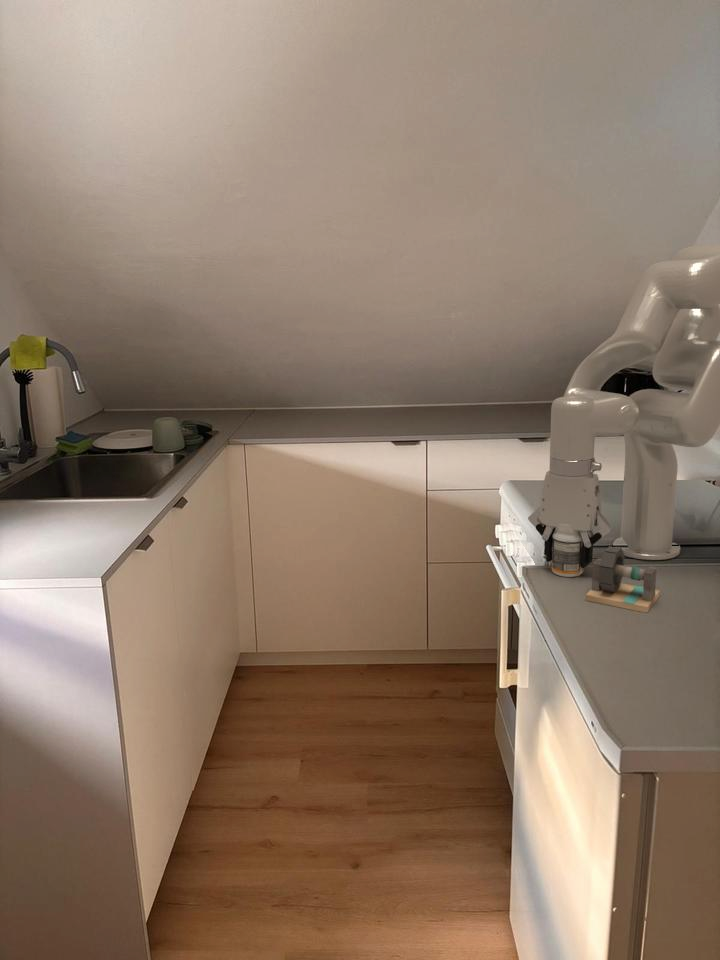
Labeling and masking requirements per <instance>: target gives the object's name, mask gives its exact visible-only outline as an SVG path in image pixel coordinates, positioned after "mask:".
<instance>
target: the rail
mask: <svg viewBox="0 0 720 960" xmlns="http://www.w3.org/2000/svg"><path fill="white" fill-rule="evenodd" d="M601 561H602V557H601V558H600V557H598V558H597V559H596V560H595V561H593V563H592V571H591V572H592V575H591V578H592V579H591V589H590V590H589V591H588V592H587V593H586V594H585V597H584V598H585V600H584V601H586V602H587V601H588V602H592V603H597V604H602V605H606V606H611V607H616V608H620V609H625V610H631V611H636V612H641V613H646V614H648V612H649V611H650V609H651V608H652V607H653V605H654V604H655V603H656V602H657V600H658V599H659V597H660V596H661V595H660V594H661V590H660V589H659V590H658V589H656V588H657V587H656V585H657V569H658V567H654V566H648V567H647V568H646V569H645V568H643V567H641V566H640V567H639V566H634V565H633V566H628V565H624V566H622V565H616V564H615V567H614V575H617V576H622V578H628V579H630V580H634V581H637V582H639V581H643V586H641V585H632V584H627V583H622V582H621V583H620V586H619V588H618V589H617V590H616V591H615V592H610V591H605V590H602V588H601V586H600V584H599V583H600V582H599V576H600V567H601V566H600V564H601Z"/></svg>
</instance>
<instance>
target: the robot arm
mask: <svg viewBox="0 0 720 960" xmlns="http://www.w3.org/2000/svg"><path fill="white" fill-rule="evenodd" d="M719 305H720V243H708V244H707V243H706V244H697V245H692V246H688V247H685V248H682V249H681V250H679V251H678V252H677V253H676V254H675V255H674V257H673V259H672V260H665V261H664V260H663V261H659V262H656V263H653V264H652V265H650V266H648V267H647V268H646V269H645V271H644V272H643V274H642V275H641V277H640V279H639V281H638V283H637V285H636V288H635V290H634V291H633V294H632V296H631V299H630V300H629V303H628V305H627V306H626V309H625V311H624V313H623V315H622V318H621V319H620V322H619V324H618V326H617V328H616V329H615V332H614V333H613V334H612V335H611V336H610V337H609V338H607V339H606V340H605V341H603V342H602V343H601V344H600V345H599V346H597V347H596V348H595V349H594V350H593V351H592V352H591V353H590V354H589V355H588V356H586V357H585V359H583V360H582V362H581V363H580V364H579V365H578V366H577V368H576V369H575V370H574V373H573V374H572V377H571V378H570V381H569V383H568V385H567V387H566V389H565V391H564V394H563V396H560V397H558V398H555V399H554V400H553V401H552V404H551V409H550V438H549V440H550V442H549V470H548V471H546V473H545V475H544V479H543V485H542V491H541V496H540V505H539V507H538V508H537V509H535V510H534V511H533V512H532V513H531V514H530V515H528V518H527V519H528V522H530V523H531V525H532V526H533V527H534V528H535V530H536V531H537V532H538V533H539V535H540V536H541V539H542V540H543V541H544V542H543V543H544V546H543V547H544V548H543V551H544V552H543V555H544V556H545V561H546V562H548V563H550V562H552V537H553V533H554V532H555V531H556V530H557V527H559V525H560V524H567V525H571V527H572V529H573V530H576V531H580V533H581V536H582V539H583V542H584V545H583V546H582V547H581V563H580V567H581V568H584V569H585V568H587V567H588V566H589V564H591V563H592V562H593V555H594V554H593V552H594V544H596V543H597V542H598V541H600V540H601V539H602V538H604V537H605V536H606V535H608V534H610V532H612V531H613V526H612V525H611V524H610V523H609V521H608V520H607V519H606V518H605V516H604V515H603V514H602V499H601V498H602V497H601V488H600V487H601V486H600V480H599V475H598V474H597V473H595V472H597V471H598V472H600V471H601V470H602V467H603V466H602V463H601V462H598V461H596V458H595V438H596V437H619V436H623V437H624V471H623V490H622V507H621V508H622V509H621V528H620V536H621V537H622V538H623V540H624V541H625V542H626V544H627V546H628V548H629V549H625V550H624V549H623V553H624V557H628V558H633V559H638V560H645V561H663V560H669V559H670V560H671V559H674V558H675V557H678V556H679V555H680V553H681V546H680V545H679V546H672V541H673V536H674V535H673V534H674V525H675V524H674V521H675V508H676V495H677V494H676V493H677V481H678V469H679V468H678V458H677V455H676V451H675V448H674V446H673V445H675V446H679V447H680V446H681V447H686V448H700V447H702V446H704V445H706V444H708V443H709V442H710V441H711V440H712V438H713V437H714V436H715V434H716V432H717V431H718V429H719V428H720V340H718V338H719V336H720V306H719ZM653 356H654V357H655V356H656V358H655V361H654V362H653V367H652V377H653V379H654V381H655V382H656V383H657V384H658V385H660V386H661V387H664V388H667V389H671V390H665V389H664V390H663V389H655V388H646V389H640V390H638V391H634V392H633V393H631V394H629V396H628V395H624V394H621V393H615V392H610V391H609V392H608V391H603V390H601V388H603V386H604V384H605V383H606V382H607V381H608V380H609V379H610V378H612V376H613V375H615V374H616V373H618V372H620V371H621V370H624V369H626V368H627V367H630V366H632V365H635V364H638V363H640V362H643V361H644V360H645V361H646V360H647V359H649V358H652V357H653ZM672 389H673V390H678V391H686V392H678V391H673V390H672ZM687 391H688V392H689V393H688V392H687ZM598 526H599V527H600V530H598V531H597V532H596V533H594V529H595V527H598Z"/></svg>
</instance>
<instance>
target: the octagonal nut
mask: <svg viewBox="0 0 720 960" xmlns="http://www.w3.org/2000/svg"><path fill="white" fill-rule="evenodd" d="M601 559H602V561H601V564H600V566H601V567H600V576H599V582H600V583H599V584H600V586H601V588H602V590H605V591H610V592H615V591H616V590H617V589H618V588H619V586H620V583H622V580H623V579H622V578H623V577H622V576H617V575H614V567H615V564H616V565H622V566H625V556H624V553H623V550H622V548H617V547H612V545H611V546H608V547H607V548H606V549H605V550H604V552H603V554H602V557H601Z"/></svg>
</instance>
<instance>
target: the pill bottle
mask: <svg viewBox="0 0 720 960" xmlns="http://www.w3.org/2000/svg"><path fill="white" fill-rule="evenodd" d="M583 545H584V542H583V539H582V536H581V533H580V531H576V530H573V529H572V527H571V525H567V524H560V525H559V527H557V528H556V530H555V532H554V533H553V537H552V561H551V571H552V573H553V574H555V575H556V576H560V577H563V578H564V577H566V578H573V577H574V578H575V577H579V576H581V575H582V574H583V573H584V570H585V568H581V567H580V563H581V547H582V546H583Z"/></svg>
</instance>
